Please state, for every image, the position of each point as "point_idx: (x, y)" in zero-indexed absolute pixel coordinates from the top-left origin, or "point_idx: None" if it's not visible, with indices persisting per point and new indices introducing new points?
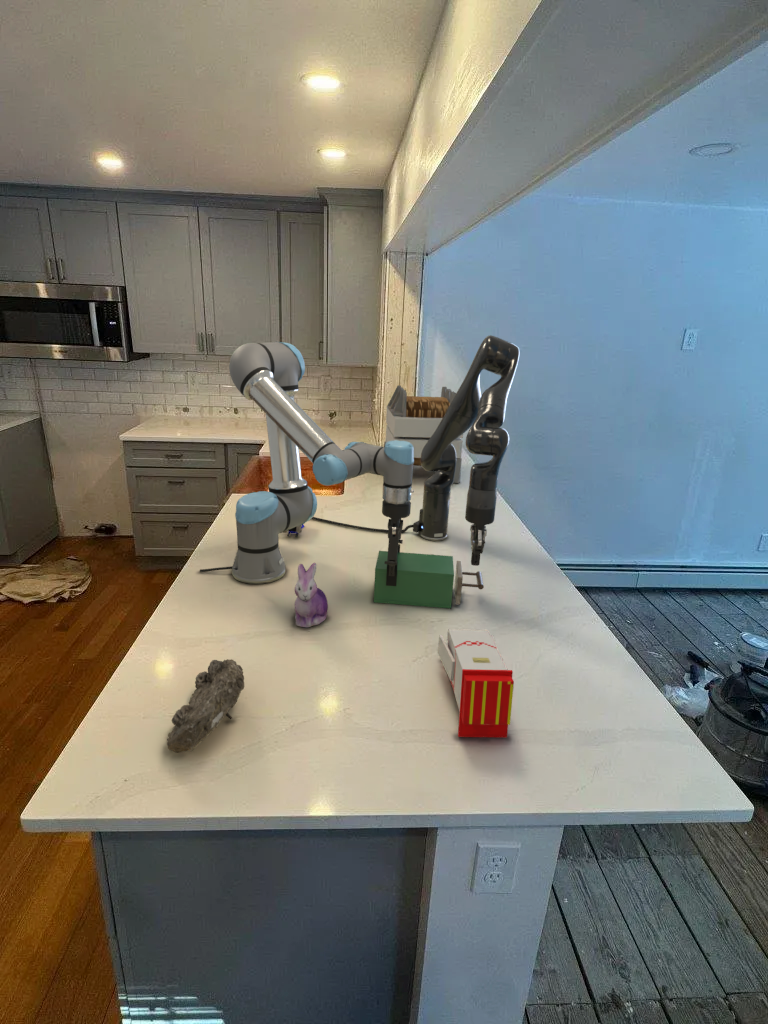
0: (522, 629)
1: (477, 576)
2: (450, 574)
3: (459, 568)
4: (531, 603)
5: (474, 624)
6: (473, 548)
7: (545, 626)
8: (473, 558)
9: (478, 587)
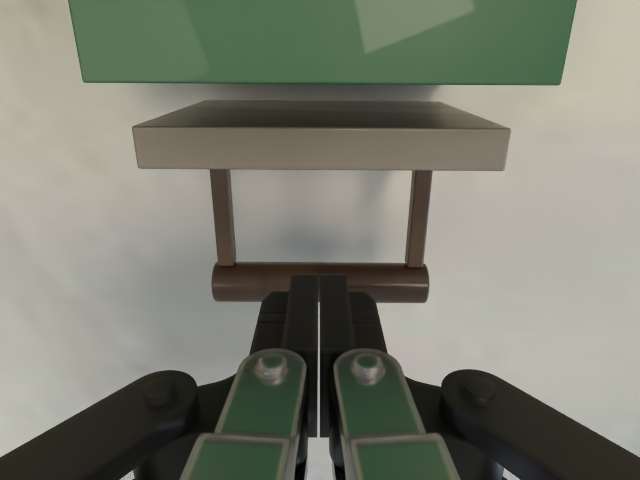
0: (95, 385)
1: (352, 275)
2: (78, 40)
3: (329, 147)
4: None
5: (62, 193)
6: (72, 442)
7: None
8: (261, 326)
9: (215, 265)
